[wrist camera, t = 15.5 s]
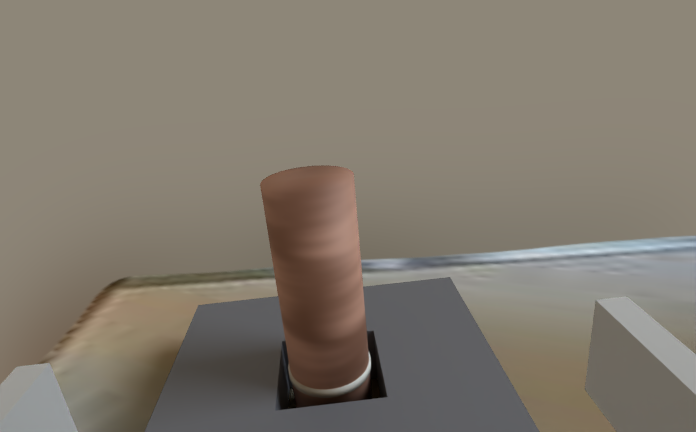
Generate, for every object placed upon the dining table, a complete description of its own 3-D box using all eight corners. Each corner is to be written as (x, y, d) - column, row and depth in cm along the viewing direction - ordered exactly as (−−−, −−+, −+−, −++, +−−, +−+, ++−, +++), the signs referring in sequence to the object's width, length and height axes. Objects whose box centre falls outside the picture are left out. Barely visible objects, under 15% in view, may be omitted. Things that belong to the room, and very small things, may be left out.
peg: (370, 385, 32) (351, 161, 26) (380, 444, 27) (360, 188, 21) (298, 394, 32) (263, 170, 26) (296, 455, 27) (252, 199, 21)
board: (450, 319, 38) (449, 277, 37) (557, 538, 21) (565, 476, 20) (208, 347, 38) (198, 305, 36) (124, 596, 21) (99, 536, 19)
